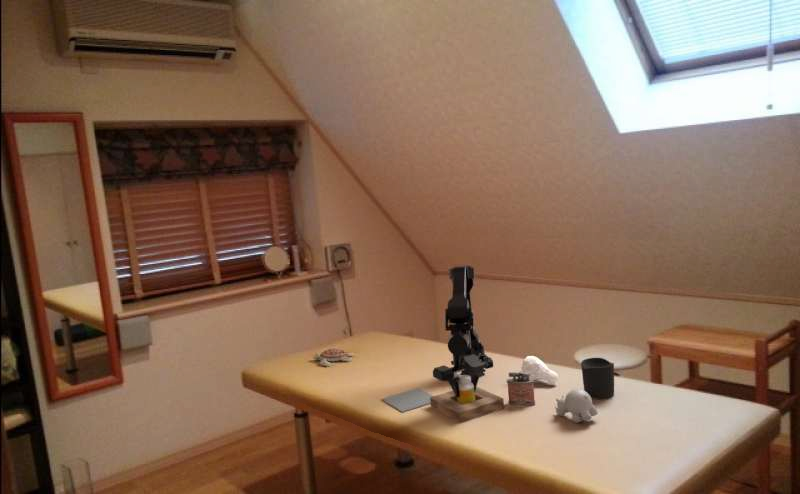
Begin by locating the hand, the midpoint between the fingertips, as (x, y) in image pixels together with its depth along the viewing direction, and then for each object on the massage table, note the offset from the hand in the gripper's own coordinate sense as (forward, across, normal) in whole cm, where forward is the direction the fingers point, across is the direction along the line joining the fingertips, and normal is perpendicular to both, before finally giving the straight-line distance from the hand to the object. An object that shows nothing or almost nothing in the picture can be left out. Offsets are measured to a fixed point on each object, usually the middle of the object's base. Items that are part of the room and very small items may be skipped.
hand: (465, 394), depth 182 cm
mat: (+4, -10, +17) cm, 20 cm away
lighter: (+4, +14, -9) cm, 17 cm away
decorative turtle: (+5, -12, +77) cm, 78 cm away
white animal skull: (+4, +30, 0) cm, 30 cm away
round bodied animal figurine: (+4, +18, -27) cm, 33 cm away
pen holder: (+4, +36, -19) cm, 41 cm away
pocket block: (+4, 0, 0) cm, 4 cm away
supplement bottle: (+4, 0, 0) cm, 4 cm away
